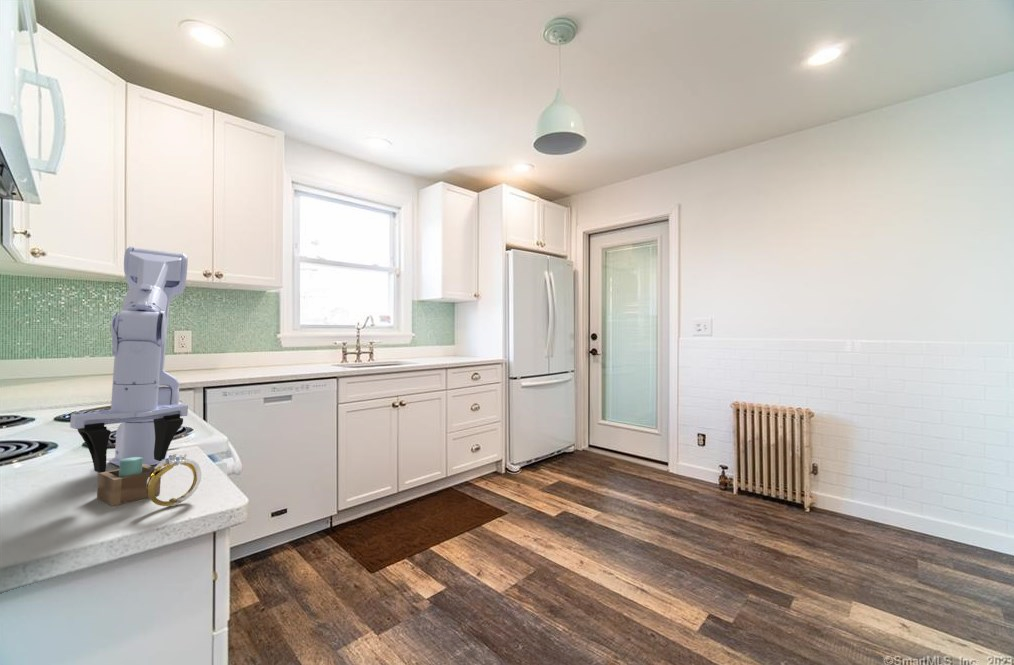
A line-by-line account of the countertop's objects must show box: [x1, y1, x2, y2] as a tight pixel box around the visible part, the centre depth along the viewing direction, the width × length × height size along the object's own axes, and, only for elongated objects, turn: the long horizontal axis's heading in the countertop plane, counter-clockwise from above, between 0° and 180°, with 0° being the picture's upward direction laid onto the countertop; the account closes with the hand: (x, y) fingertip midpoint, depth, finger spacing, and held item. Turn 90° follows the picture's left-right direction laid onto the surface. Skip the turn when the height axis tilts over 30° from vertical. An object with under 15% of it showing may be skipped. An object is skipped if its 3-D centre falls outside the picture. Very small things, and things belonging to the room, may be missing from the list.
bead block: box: [96, 464, 162, 507], centre depth 68 cm, size 6×6×4 cm
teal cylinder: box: [118, 457, 143, 477], centre depth 68 cm, size 3×3×6 cm
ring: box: [146, 453, 202, 507], centre depth 65 cm, size 7×3×8 cm, turn 147°
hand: (130, 465), depth 68 cm, fingers open, 7 cm apart
